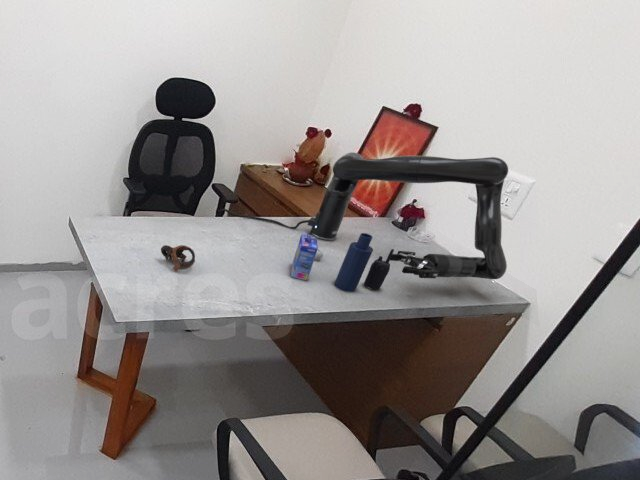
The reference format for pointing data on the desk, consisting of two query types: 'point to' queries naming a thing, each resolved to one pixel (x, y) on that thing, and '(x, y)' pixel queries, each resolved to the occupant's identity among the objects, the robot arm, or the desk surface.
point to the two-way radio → (378, 272)
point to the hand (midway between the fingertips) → (395, 263)
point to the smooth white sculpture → (318, 255)
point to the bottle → (354, 264)
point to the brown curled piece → (178, 256)
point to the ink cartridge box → (304, 257)
